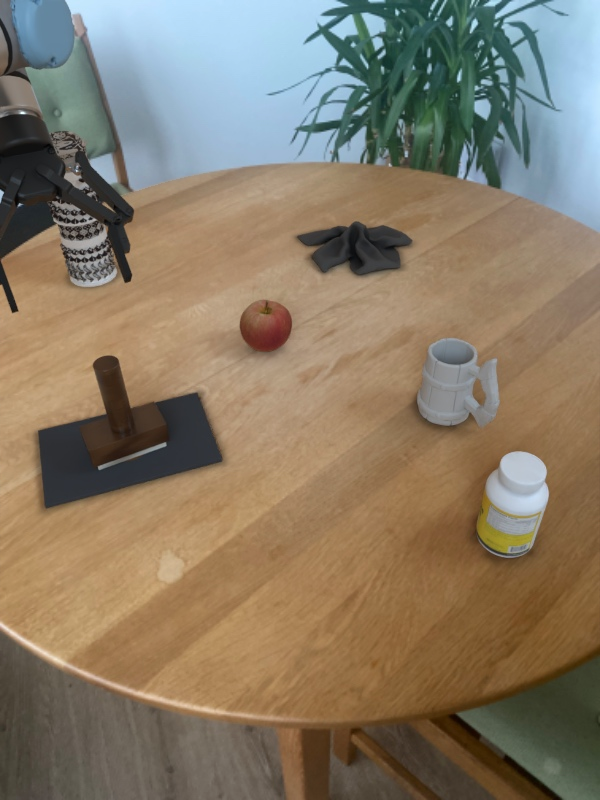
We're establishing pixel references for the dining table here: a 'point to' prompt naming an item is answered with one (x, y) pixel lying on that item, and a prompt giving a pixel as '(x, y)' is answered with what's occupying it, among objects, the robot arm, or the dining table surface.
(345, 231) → the cloth
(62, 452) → the stain mat
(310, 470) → the dining table surface
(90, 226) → the decorative candle
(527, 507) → the pill bottle
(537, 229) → the dining table surface
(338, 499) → the dining table surface
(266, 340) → the apple
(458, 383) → the mug
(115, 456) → the scrub brush
